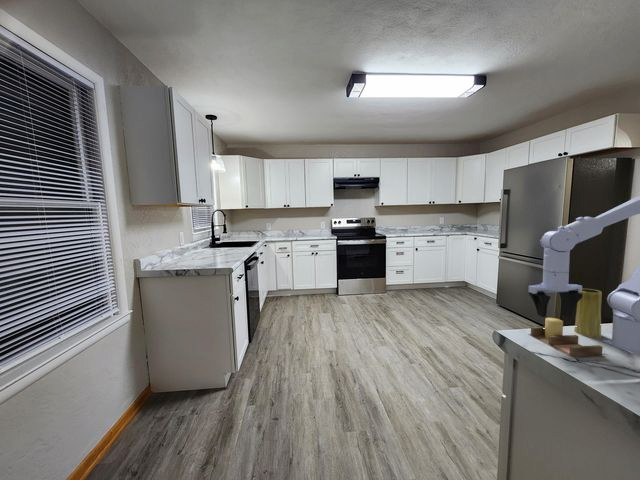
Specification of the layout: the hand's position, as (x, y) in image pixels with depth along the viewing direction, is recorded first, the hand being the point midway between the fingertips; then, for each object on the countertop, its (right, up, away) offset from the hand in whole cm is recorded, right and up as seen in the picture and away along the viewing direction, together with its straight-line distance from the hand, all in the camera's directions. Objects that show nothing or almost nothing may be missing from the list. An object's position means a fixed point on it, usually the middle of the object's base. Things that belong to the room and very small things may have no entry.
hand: (553, 315), depth 79 cm
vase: (+14, -7, +4) cm, 17 cm away
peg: (0, -7, 0) cm, 7 cm away
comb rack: (0, -8, -3) cm, 9 cm away
